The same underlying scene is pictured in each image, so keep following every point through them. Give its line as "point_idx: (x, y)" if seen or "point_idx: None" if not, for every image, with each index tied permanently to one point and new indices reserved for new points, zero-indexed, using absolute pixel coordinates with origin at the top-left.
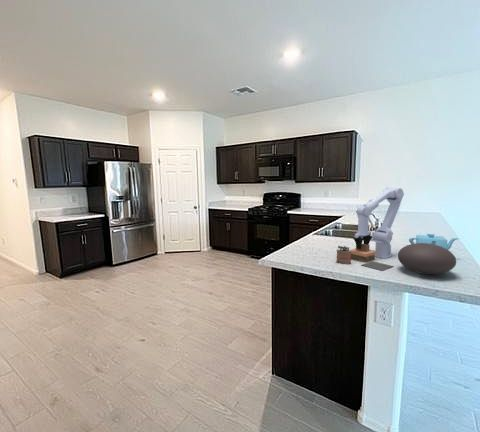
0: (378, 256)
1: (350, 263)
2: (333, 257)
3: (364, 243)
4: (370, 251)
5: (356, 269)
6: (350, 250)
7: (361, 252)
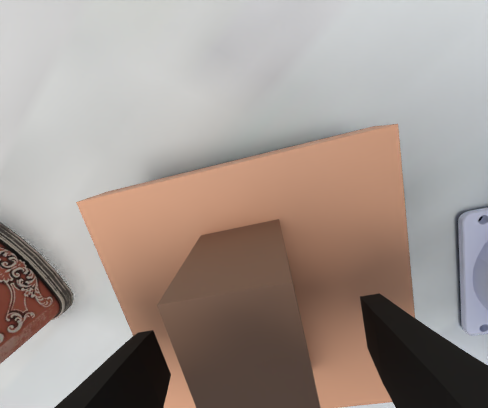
0: (468, 280)
1: (56, 315)
2: (21, 68)
3: (404, 359)
4: (320, 379)
5: (35, 399)
6: (101, 226)
7: (172, 361)
